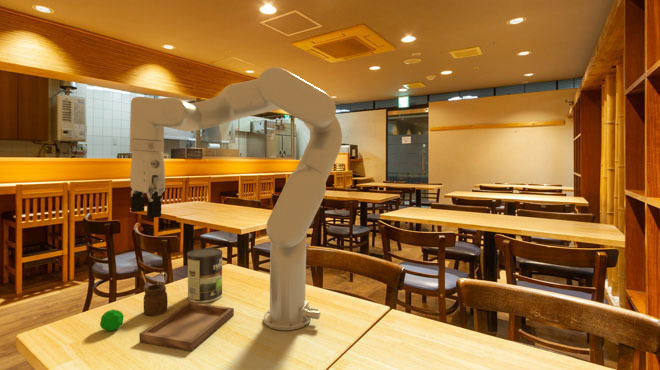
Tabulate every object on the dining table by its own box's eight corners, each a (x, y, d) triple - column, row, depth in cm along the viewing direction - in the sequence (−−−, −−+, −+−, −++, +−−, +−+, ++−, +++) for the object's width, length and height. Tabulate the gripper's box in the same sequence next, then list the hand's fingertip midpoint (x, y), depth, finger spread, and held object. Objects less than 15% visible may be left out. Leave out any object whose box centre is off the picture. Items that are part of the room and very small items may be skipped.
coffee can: (227, 290, 109) (227, 248, 108) (215, 303, 99) (215, 257, 98) (195, 289, 110) (195, 247, 108) (181, 303, 99) (180, 256, 98)
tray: (233, 315, 92) (233, 308, 92) (191, 351, 75) (191, 342, 74) (189, 309, 95) (189, 301, 95) (139, 342, 78) (139, 333, 78)
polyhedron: (110, 324, 86) (109, 306, 86) (128, 325, 86) (127, 307, 85) (95, 334, 81) (94, 315, 81) (114, 335, 81) (113, 316, 80)
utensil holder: (168, 313, 92) (167, 271, 91) (142, 318, 89) (141, 274, 88) (166, 305, 97) (166, 265, 97) (142, 309, 94) (141, 268, 93)
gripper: (178, 149, 82) (176, 218, 83) (147, 147, 93) (146, 208, 94) (146, 147, 76) (144, 221, 78) (117, 145, 87) (116, 210, 88)
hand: (145, 214), depth 86 cm, fingers open, 9 cm apart
